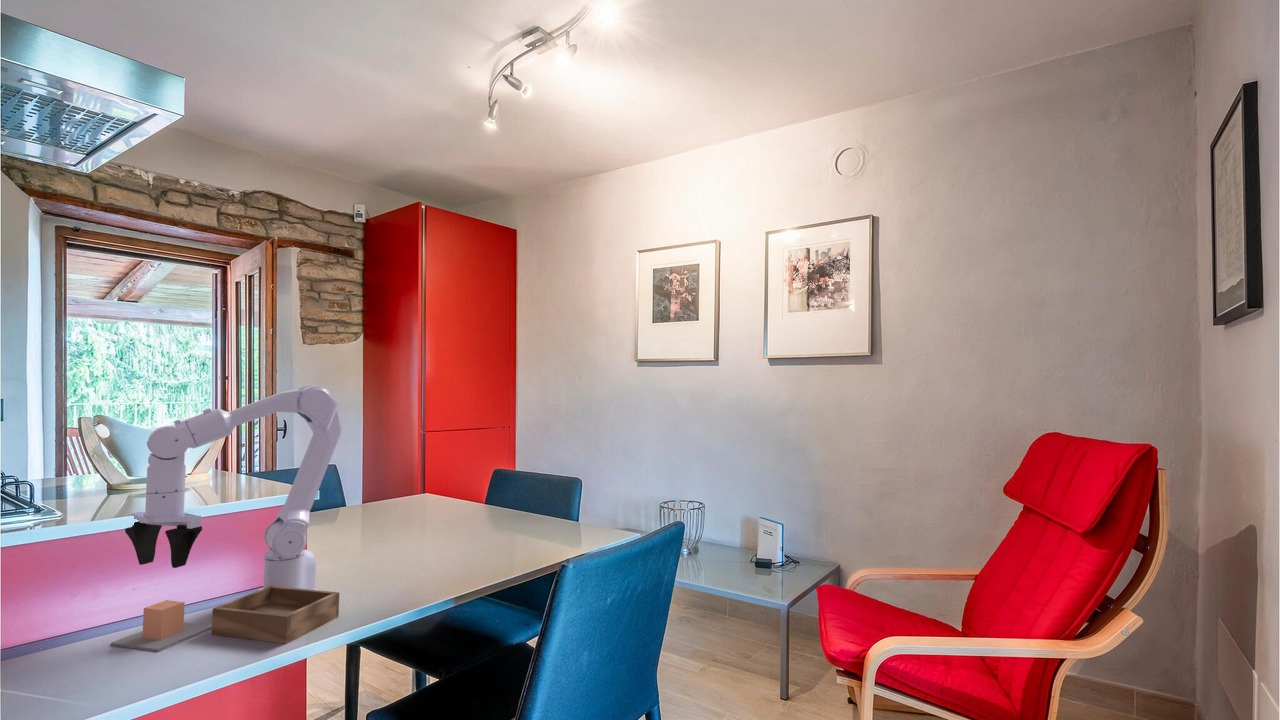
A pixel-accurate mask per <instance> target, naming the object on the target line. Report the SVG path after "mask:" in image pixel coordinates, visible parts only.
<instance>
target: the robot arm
mask: <svg viewBox="0 0 1280 720" xmlns="http://www.w3.org/2000/svg"><path fill="white" fill-rule="evenodd" d="M278 412H279V413H294V414H298V415H299V416H300V417H302V418H303V419H304V420H305V421H306V423H307V425H308V426H309V428H310V430H311V431H312V433H313V434H312V436H311V438H310V441H309V444H308V446H307V449H306V451H305V453H304V456H303V458H302V461H301V463H300V465H299V468H298V471H297V472H296V476H295V478H294V481H293V483H292V485H291V487H290V490H289V493H288V495H287V498H286V501H285V503H284V504H283V506H282V507H281V508H280V510H279V511H278V512H277V515H276V517H275V518H274V520H273V521H272V522H271V523H270V524H269V525H268V527H266V529H265V532H264V542H265V544H266V545H267V546H268V547H269V548H268V549H267V552H266V553H265V554H264V561H263V562H264V564H263V588H262V589H264V588H266V587H269V586H278V587H288V588H298V589H309V590H319V589H318V588H316V583H317V582H316V579H317V577H316V575H317V560H316V556H315V555H314V554H313V552H312V551H311V550H308V549H305V547H306V546H307V543H308V535H307V533H308V527H309V525H310V512H311V510H312V507H313V504H314V502H315V499H316V497H317V495H318V492H319V489H320V487H321V484H322V481H323V479H324V477H325V474H326V471H327V469H328V466H329V463H330V461H331V459H332V456H333V454H334V451H335V449H336V446H337V444H338V441H339V438H340V436H341V433H342V426H341V421H340V416H339V412H338V401H337V400H336V399H335V398H334V396H333V395H332V393H331V392H330V391H329V390H328V389H326V388H324V387H321V386H301V387H299V388H297V389H290V390H286V391H281V392H278V393H275V394H272V395H270V396H266V397H264V398H262V399H259V400H256V401H254V402H251V403H249V404H245V405H243V406H240V407H238V408H235V409H233V410H231V411H226V410H223V409H221V408H214V409H213V410H212V408H210V407H209V408H205V409H203V410H202V414H201V413H200V414H198V415H195V416H193V417H189V418H187V419H183V420H181V419H176V420H173V423H174V426H172V425H171V426H170V425H165V426H161V427H158V428H156V429H155V430H153V431H152V432H151V433H150V435H149V436H148V440H147V441H146V445H147V448H148V450H149V452H150V453H149V455H148V458H147V460H148V461H147V463H148V466H147V468H146V485H145V486H146V487H145V492H146V493H145V510H144V511H135V512H131V513H128V516H129V515H131V516H134V519H137V520H139V521H138V522H135V523H134V525H133V524H131V525H132V526H130V527H125V528H124V532H125V534H126V535H127V536H128V537H129V539H130V541H131V543H132V545H133V547H134V550H135V553H136V558H137V560H138V564H139V566H144V565H146V564H147V565H148V564H150V563H153V562H154V559H155V556H156V548H157V540H158V537H159V535H160V534H159V533H160V531H161V530H162V527H163V526H165V527H166V526H167V527H174V528H171V529H167V530H165V533H164V534H165V535H166V537H167V539H168V543H169V548H170V564H171V567H172V568H173V569H177V568H180V567H184V566H186V564H187V561H188V558H189V555H190V553H191V550H192V548H193V545H194V543H195V541H196V539H197V538H198V536H199V535H200V533H201V532H202V530H203V526H202V516H201V515H197V514H193V513H189V512H185V495H186V494H185V493H186V470H187V468H186V467H187V466H186V464H185V459H186V458H185V454H186V452H187V450H188V449H190V448H191V449H196V448H197V449H198V448H199V447H202V446H205V445H207V444H211V443H213V442H215V441H219V440H221V439H223V438H226V437H229V436H231V435H232V433H233V430H234V429H235V428H236V427H237V426H240V425H242V424H243V425H244V424H246V423H249V422H251V421H255V420H258V419H261V418H264V417H267V416H269V415H273V414H276V413H278ZM175 527H176V528H175Z"/></svg>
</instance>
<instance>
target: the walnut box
mask: <svg viewBox="0 0 1280 720" xmlns="http://www.w3.org/2000/svg"><path fill="white" fill-rule="evenodd" d="M211 611H212V615H211V617H212V618H211V626H212V629H211V635H213V636H221V637H229V638H230V637H231V638H238V639H244V640H245V639H246V640H255V641H262V642H270V643H278V644H279V643H280V644H289V643H290V642H292V641H294V640H296V639H298V638H300V637H302V636H304V635H305V634H308V633H310V632H311V631H315V629H317V628H319V627H321V626H323V625H325V624H327V623H329V622H331V621H333V620H334V619H336V618H337V619H338V617H339V615H340V612H339V611H340V592H336V591H327V590H319V589H318V590H309V589H298V588H288V587H278V586H269V587H266V588H264V589H263V588H262V589H258V590H256V591H254V592H252V593H249V594H246V595H244V596H241V597H239V598H236V599H233V600H230V601H228V602H225V603H224V604H220V605H218V606H216V607H212V610H211Z"/></svg>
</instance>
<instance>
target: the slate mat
mask: <svg viewBox="0 0 1280 720" xmlns="http://www.w3.org/2000/svg"><path fill="white" fill-rule="evenodd" d="M210 630H212V625H210V624H200V623H192V622H191V623H190V622H184V629H183V631H182V632H180V633H177V634H175V635H172V636H170V637H167V638H165V639H162V640H156V639H149V638H142V635H143V630H140V631H137V632H135V633H133V634H130V635H127V636H125V637H123V638H120V639H117V640H114V641H112V642H110V646H112V647H113V646H114V647H121V648H129V649H136V650H142V651H151V652H156V653H157V652H160V651H163V650H165V649H167V648H170V647H173V646H175V645H177V644H179V643H181V642H184V641H186V640H188V639H191V638H194V637H196V636H198V635H201V634H203V633H205V632H208V631H210Z"/></svg>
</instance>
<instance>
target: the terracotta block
mask: <svg viewBox="0 0 1280 720" xmlns="http://www.w3.org/2000/svg"><path fill="white" fill-rule="evenodd" d="M142 620H143V621H142V631H143V635H142V638H149V639H156V640H162V639H165V638H167V637H170V636H172V635H175V634H177V633H180V632H182V631H183V629H184V623H185V601H177V600H169V599H166V600H163V601H159V602H157V603H155V604H152V605H148V606H146V607H144V608H143V618H142Z"/></svg>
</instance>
